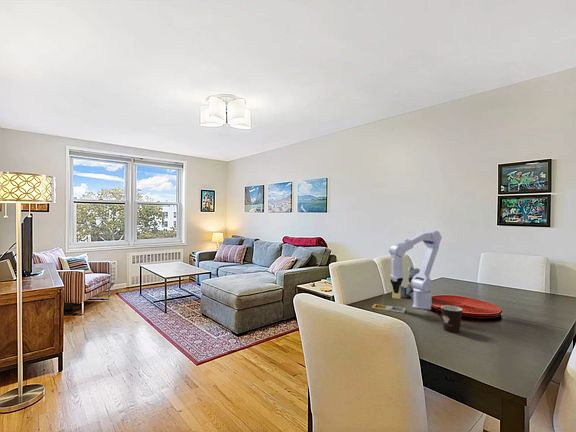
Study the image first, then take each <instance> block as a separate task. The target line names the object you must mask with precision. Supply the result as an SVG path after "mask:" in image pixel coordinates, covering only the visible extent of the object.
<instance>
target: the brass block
mask: <svg viewBox="0 0 576 432" xmlns="http://www.w3.org/2000/svg"><path fill="white" fill-rule="evenodd" d="M401 286H402V283H401V284H400V287H399V292H398V293H394V290H393V286H392V285H391V293H392V295H391V297H392V298H393V299H401V298H402V297H401Z"/></svg>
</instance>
